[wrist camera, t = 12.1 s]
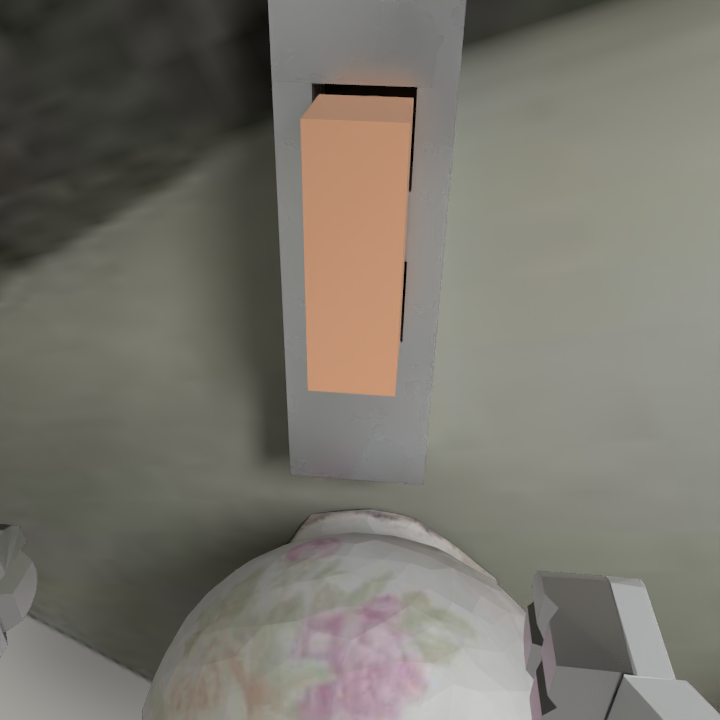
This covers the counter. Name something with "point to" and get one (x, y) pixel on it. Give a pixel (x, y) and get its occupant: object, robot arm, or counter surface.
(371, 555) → the ceramic pitcher
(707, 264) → the counter surface
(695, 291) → the counter surface
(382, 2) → the rail
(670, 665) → the robot arm
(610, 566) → the counter surface
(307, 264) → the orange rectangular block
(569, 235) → the counter surface
